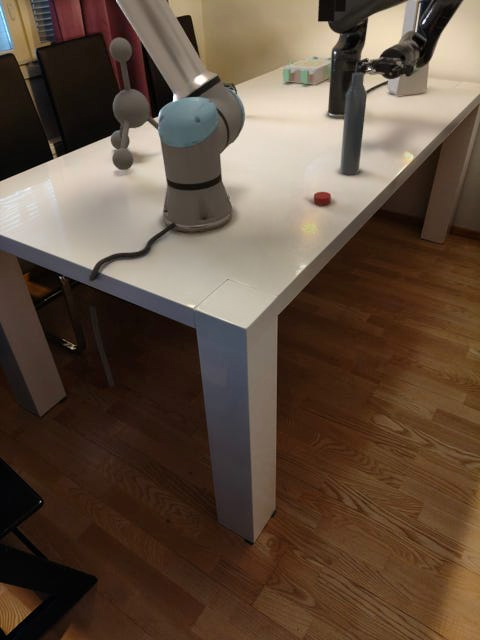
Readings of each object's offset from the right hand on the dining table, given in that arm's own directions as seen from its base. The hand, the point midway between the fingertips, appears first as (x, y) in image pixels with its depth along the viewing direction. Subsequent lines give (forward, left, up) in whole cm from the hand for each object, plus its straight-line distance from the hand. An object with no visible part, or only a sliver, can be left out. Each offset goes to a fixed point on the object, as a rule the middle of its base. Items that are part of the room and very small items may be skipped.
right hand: (375, 73), depth 119 cm
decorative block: (-94, -16, -21) cm, 98 cm away
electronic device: (-67, +20, -21) cm, 73 cm away
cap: (+29, -12, -19) cm, 37 cm away
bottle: (+11, -5, -21) cm, 24 cm away
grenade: (-41, -44, -21) cm, 63 cm away
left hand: (+29, -12, +15) cm, 35 cm away
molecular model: (-1, -62, -21) cm, 65 cm away
